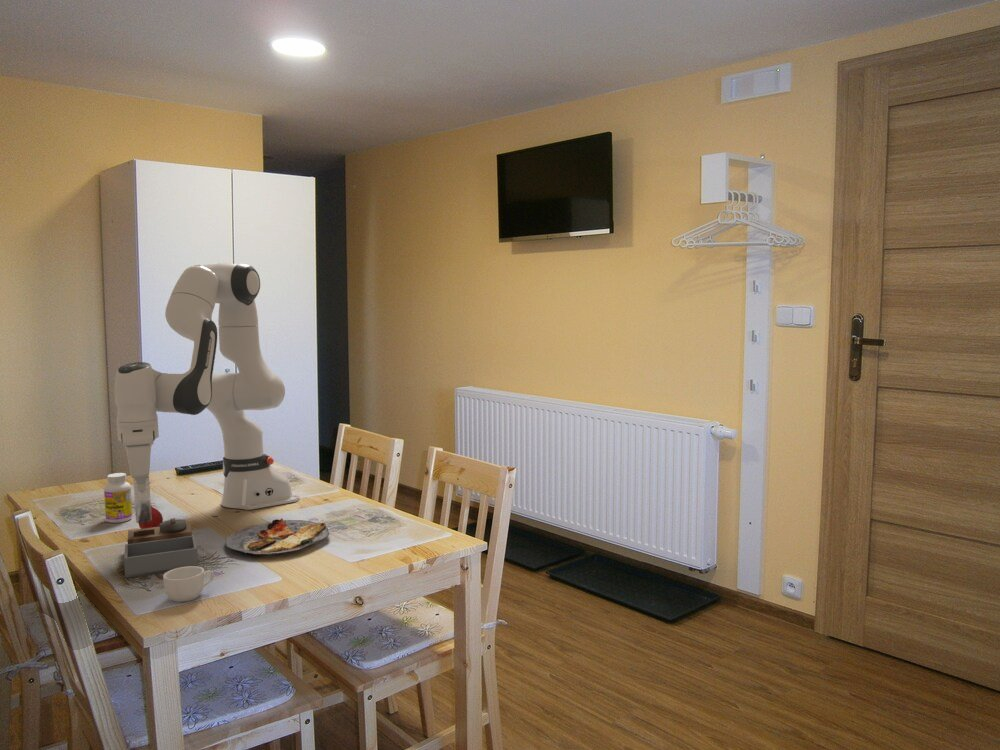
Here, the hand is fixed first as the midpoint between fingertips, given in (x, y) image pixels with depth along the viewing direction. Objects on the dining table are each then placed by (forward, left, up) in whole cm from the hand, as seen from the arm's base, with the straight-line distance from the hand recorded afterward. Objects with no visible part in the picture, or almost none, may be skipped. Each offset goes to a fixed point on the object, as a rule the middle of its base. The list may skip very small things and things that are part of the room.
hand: (141, 488), depth 181 cm
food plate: (-30, +6, -17) cm, 35 cm away
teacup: (-8, +33, -16) cm, 38 cm away
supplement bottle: (+7, -33, -16) cm, 37 cm away
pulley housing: (-3, 0, -16) cm, 16 cm away
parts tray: (-3, +11, -16) cm, 20 cm away
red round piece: (-1, -15, -16) cm, 22 cm away
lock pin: (0, 0, -8) cm, 8 cm away
